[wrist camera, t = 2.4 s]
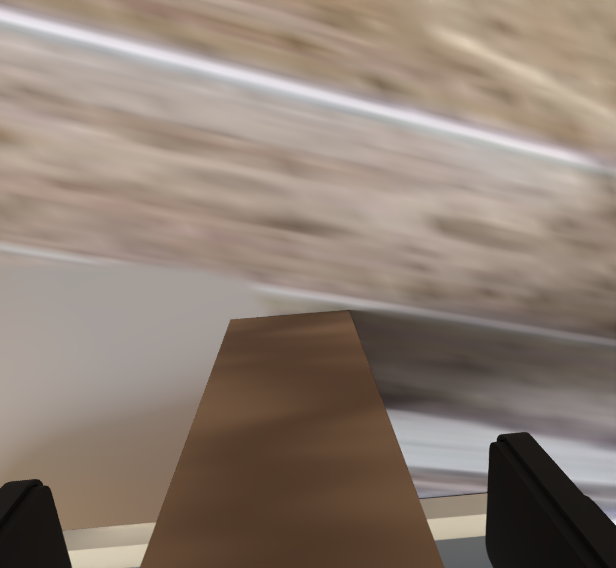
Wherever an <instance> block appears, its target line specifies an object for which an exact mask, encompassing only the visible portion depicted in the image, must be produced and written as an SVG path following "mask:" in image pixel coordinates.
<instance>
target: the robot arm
mask: <svg viewBox="0 0 616 568" xmlns="http://www.w3.org/2000/svg"><path fill="white" fill-rule="evenodd" d="M485 545H486V551H487V555H488V558H489V560H490V562H491V564H492V566H493V568H616V525H615V524H614V523H613V522H612V521H611V520H610V519H609V518H608V516H607V515H606V514H605V513H604V512H603V511H602V510H601V509H600V508H599V506H598V505H597V504H596V503H595V502H594V501H593V500H591V499H590V498H589V497H587V496H585V495H584V494H583V493H582V492H581V491H580V490H579V489H578V488H577V487H576V485H575V484H574V483H573V482H572V481H571V480H570V479H569V478H568V476H567V475H566V474H565V473H564V472H563V471H562V470H561V469H560V467H559V466H558V465H557V464H556V463H555V462H554V461H553V460H552V458H551V457H550V456H549V455H548V454H547V453H546V452H545V451H544V449H543V448H542V447H541V446H540V445H539V444H538V443H537V442H536V441H535V439H534V438H533V437H532V436H531V435H530V434H529V433H526V432H521V433H511V434H501V435H499V436H498V438H497V442H492V443H491V444H490V449H489V470H488V491H487V513H486V534H485ZM0 568H72V565H71V561H70V557H69V554H68V550H67V546H66V543H65V539H64V536H63V532H62V528H61V525H60V521H59V518H58V514H57V510H56V507H55V503H54V499H53V496H52V492H51V490H50V488H49V487H48V486H43V483H42V482H41V481H40V480H38V479H32V480H22V481H12V482H8V483H5V484H4V485H3V486H2V487H1V488H0Z"/></svg>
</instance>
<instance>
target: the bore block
mask: <svg viewBox="0 0 616 568" xmlns="http://www.w3.org/2000/svg"><path fill="white" fill-rule="evenodd" d="M419 500H420V503H421V506H422V508H423V511H424V514H425V516H426V519H427V522H428V524H429V527H430V530H431V532H432V535H433V538H434V540H435V543H436V546H437V549H438V551H439V554H440V557H441V559H442V562H443V565H444V567H445V568H493V566H492V564H491V562H490V560H489V558H488V555H487V551H486V545H485V534H486V513H487V493H485V494H473V495H462V496H451V497H439V498H428V499H419ZM155 524H156V522H153V523H142V524H131V525H120V526H107V527H96V528H86V529H74V530H62V532H63V536H64V539H65V543H66V546H67V550H68V554H69V557H70V561H71V565H72V568H140V565H141V563H142V560H143V557H144V554H145V552H146V549H147V546H148V543H149V541H150V538H151V535H152V533H153V530H154V527H155Z"/></svg>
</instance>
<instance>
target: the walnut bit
mask: <svg viewBox="0 0 616 568" xmlns="http://www.w3.org/2000/svg"><path fill="white" fill-rule="evenodd" d="M140 568H445V567H444V565H443V562H442V559H441V557H440V554H439V551H438V549H437V546H436V543H435V540H434V538H433V535H432V532H431V530H430V527H429V524H428V522H427V519H426V516H425V514H424V511H423V508H422V506H421V503H420V500H419V497H418V495H417V492H416V489H415V487H414V484H413V481H412V479H411V476H410V473H409V471H408V468H407V465H406V463H405V460H404V457H403V454H402V452H401V449H400V446H399V444H398V441H397V438H396V436H395V433H394V430H393V428H392V425H391V422H390V419H389V417H388V414H387V411H386V409H385V406H384V403H383V401H382V398H381V395H380V393H379V390H378V387H377V385H376V382H375V379H374V376H373V374H372V371H371V368H370V366H369V363H368V360H367V358H366V355H365V352H364V350H363V347H362V344H361V342H360V339H359V336H358V333H357V331H356V328H355V325H354V323H353V320H352V317H351V315H350V312H349V310H344V311H331V312H319V313H306V314H294V315H282V316H269V317H257V318H245V319H232V320H230V323H229V326H228V328H227V331H226V334H225V336H224V339H223V342H222V344H221V348H220V350H219V353H218V355H217V358H216V361H215V364H214V366H213V369H212V372H211V375H210V377H209V380H208V383H207V385H206V388H205V391H204V394H203V396H202V399H201V402H200V404H199V407H198V410H197V413H196V415H195V418H194V421H193V424H192V426H191V429H190V432H189V434H188V437H187V440H186V443H185V445H184V448H183V451H182V453H181V456H180V459H179V462H178V465H177V467H176V470H175V473H174V475H173V478H172V481H171V483H170V486H169V489H168V492H167V494H166V497H165V500H164V503H163V505H162V508H161V511H160V514H159V516H158V519H157V522H156V524H155V527H154V530H153V533H152V535H151V538H150V541H149V543H148V546H147V549H146V552H145V554H144V557H143V560H142V563H141V565H140Z"/></svg>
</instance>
